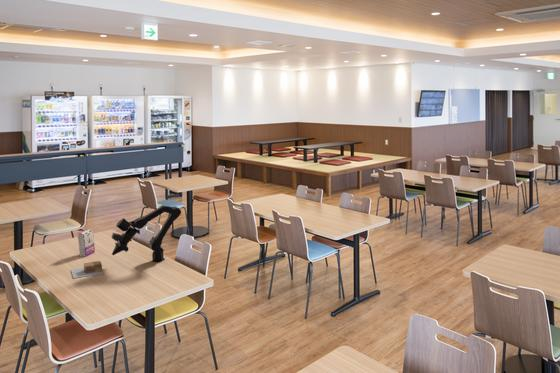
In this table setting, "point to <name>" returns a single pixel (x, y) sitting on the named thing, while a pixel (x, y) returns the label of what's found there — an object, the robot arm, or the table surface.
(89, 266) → the walnut block
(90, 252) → the candy bar box
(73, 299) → the table surface
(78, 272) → the slate board
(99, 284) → the table surface
